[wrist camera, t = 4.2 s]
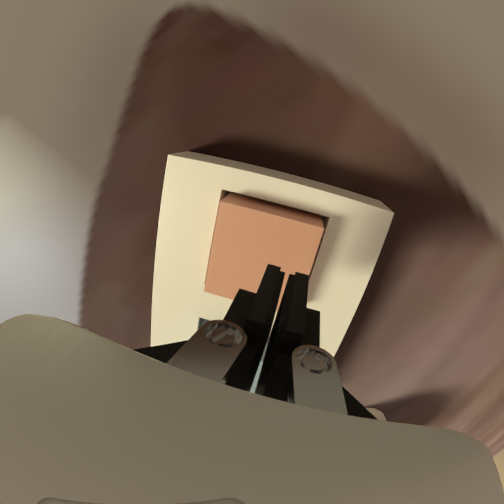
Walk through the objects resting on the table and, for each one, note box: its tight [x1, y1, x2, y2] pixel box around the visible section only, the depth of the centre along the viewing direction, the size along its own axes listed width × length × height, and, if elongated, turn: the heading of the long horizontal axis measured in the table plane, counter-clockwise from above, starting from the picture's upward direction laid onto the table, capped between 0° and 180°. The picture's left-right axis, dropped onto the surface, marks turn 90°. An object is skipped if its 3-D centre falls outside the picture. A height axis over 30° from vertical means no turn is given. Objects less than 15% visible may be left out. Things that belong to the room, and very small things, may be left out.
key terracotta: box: [204, 192, 324, 312], centre depth 16 cm, size 5×5×2 cm
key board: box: [151, 151, 394, 357], centre depth 19 cm, size 12×16×3 cm
